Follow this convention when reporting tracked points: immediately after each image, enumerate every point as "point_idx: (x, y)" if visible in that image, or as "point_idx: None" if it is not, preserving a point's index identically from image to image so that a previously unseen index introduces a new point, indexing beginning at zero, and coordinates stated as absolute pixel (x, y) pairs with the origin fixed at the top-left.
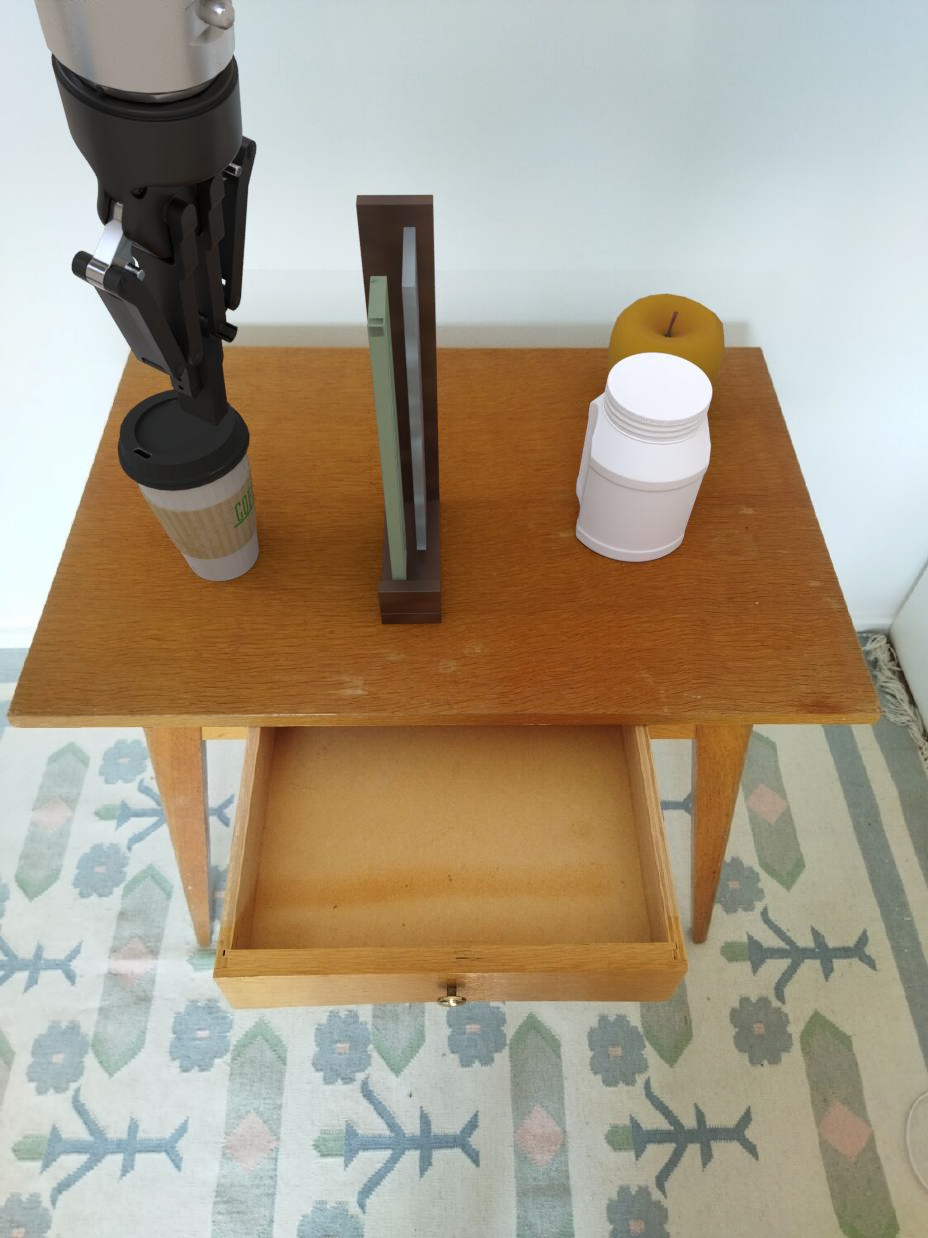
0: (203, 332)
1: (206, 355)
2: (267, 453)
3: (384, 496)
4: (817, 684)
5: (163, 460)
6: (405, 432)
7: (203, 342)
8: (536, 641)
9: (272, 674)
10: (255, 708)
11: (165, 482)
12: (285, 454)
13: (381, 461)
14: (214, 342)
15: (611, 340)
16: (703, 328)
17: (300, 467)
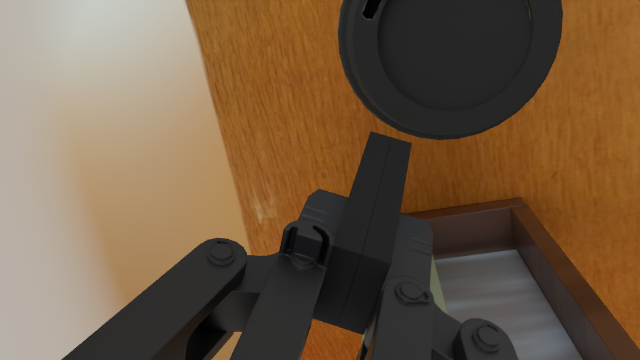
0: (370, 317)
1: (320, 317)
2: (614, 19)
3: (362, 342)
4: None
5: (362, 44)
6: (549, 293)
7: (354, 308)
8: (345, 355)
9: (260, 129)
10: (219, 123)
11: (342, 44)
12: (612, 46)
13: None
14: (360, 327)
15: None
16: None
17: (584, 75)
